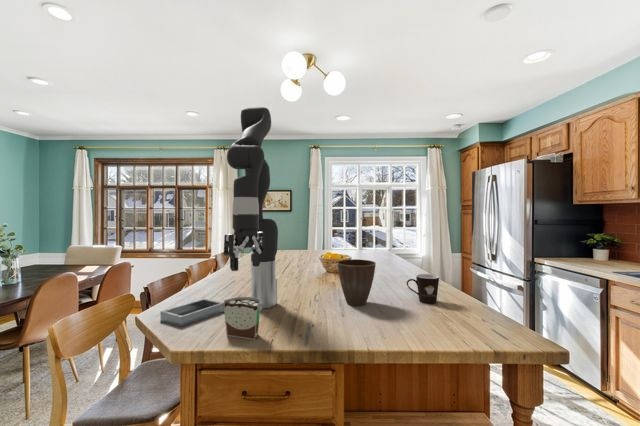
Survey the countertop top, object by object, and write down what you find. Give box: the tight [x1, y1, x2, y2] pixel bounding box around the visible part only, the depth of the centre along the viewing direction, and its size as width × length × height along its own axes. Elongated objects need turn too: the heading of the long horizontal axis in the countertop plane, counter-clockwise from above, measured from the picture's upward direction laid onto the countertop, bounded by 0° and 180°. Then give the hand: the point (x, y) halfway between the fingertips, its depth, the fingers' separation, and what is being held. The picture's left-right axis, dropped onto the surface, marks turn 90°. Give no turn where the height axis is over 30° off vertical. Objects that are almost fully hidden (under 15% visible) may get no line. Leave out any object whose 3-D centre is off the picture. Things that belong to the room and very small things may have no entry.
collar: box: [160, 298, 225, 328], centre depth 102 cm, size 17×11×3 cm, turn 149°
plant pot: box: [336, 258, 377, 307], centre depth 115 cm, size 15×15×16 cm
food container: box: [222, 296, 263, 341], centre depth 86 cm, size 12×6×10 cm, turn 71°
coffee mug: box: [406, 273, 440, 305], centre depth 118 cm, size 12×9×10 cm
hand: (245, 268), depth 87 cm, fingers open, 8 cm apart
